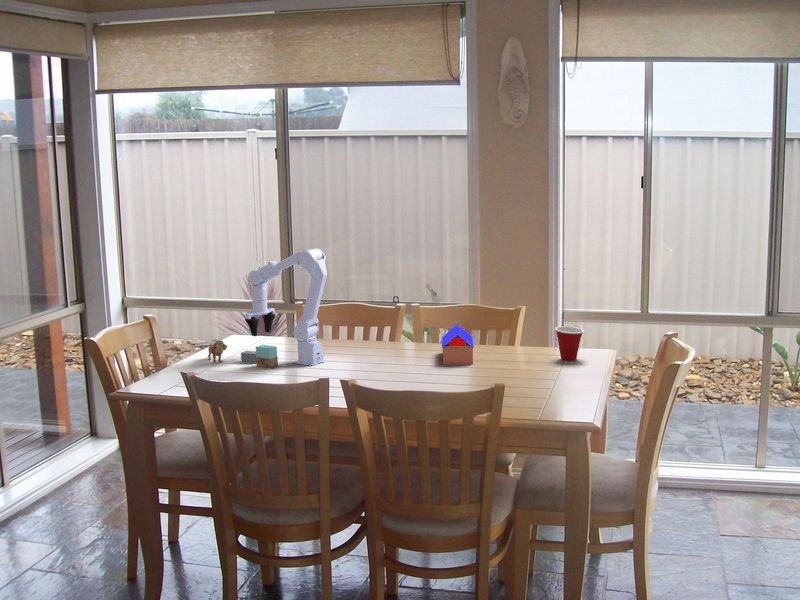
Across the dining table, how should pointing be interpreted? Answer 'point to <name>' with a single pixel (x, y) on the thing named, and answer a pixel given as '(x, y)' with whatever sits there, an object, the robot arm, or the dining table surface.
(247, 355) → the gray brick
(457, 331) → the house
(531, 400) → the dining table surface
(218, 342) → the lion figurine
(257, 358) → the walnut brick
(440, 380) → the dining table surface
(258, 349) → the teal brick
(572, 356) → the plastic cup
